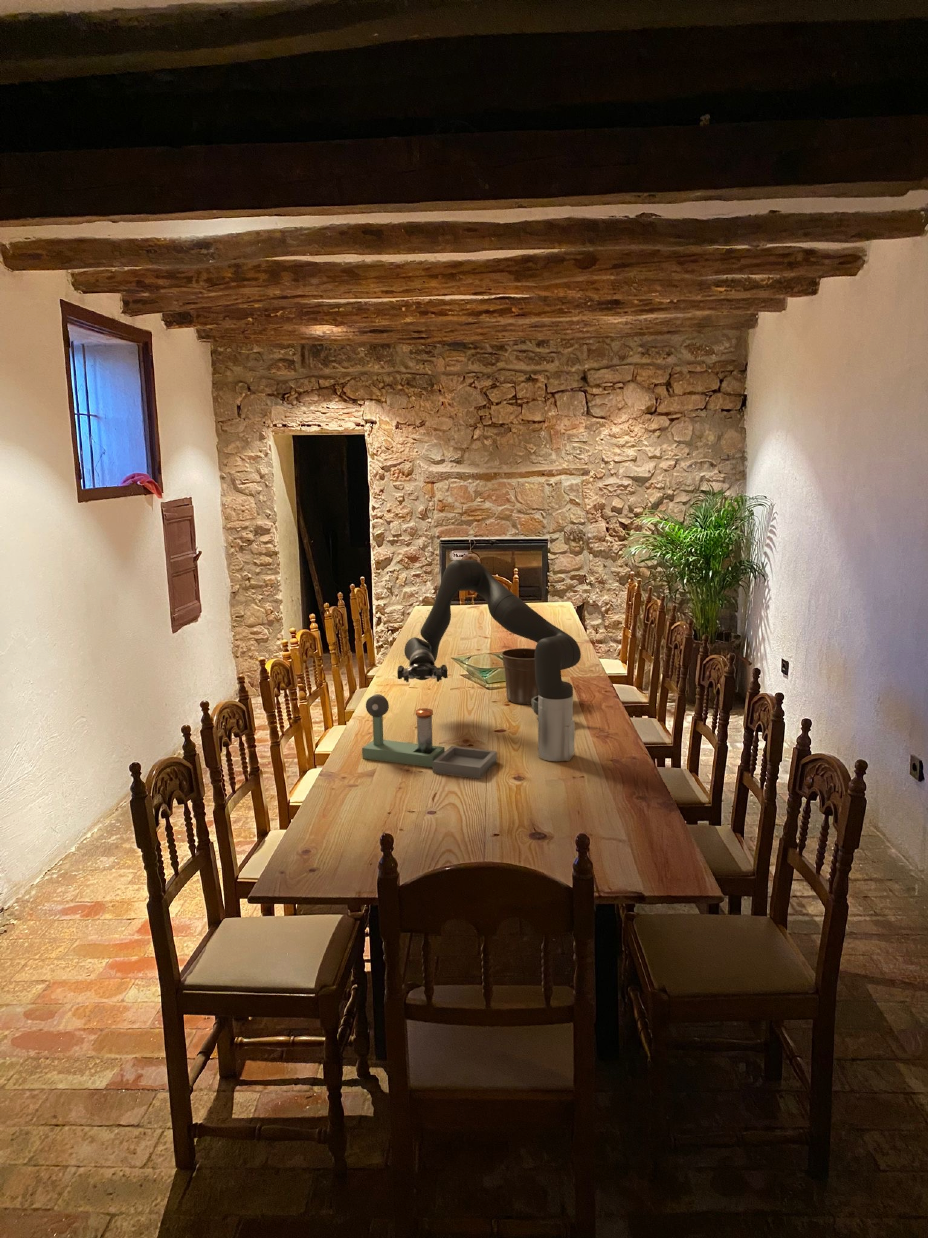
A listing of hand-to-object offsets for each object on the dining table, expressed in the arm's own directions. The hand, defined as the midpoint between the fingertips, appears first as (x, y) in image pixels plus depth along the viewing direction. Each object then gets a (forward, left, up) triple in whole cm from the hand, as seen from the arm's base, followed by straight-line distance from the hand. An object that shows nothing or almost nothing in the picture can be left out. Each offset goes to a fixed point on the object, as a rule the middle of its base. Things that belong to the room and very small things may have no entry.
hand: (422, 678), depth 236 cm
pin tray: (-17, +11, -20) cm, 28 cm away
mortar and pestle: (-27, -35, -20) cm, 48 cm away
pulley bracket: (+2, +10, -20) cm, 22 cm away
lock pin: (-5, +10, -20) cm, 23 cm away
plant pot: (-13, -55, -20) cm, 60 cm away
